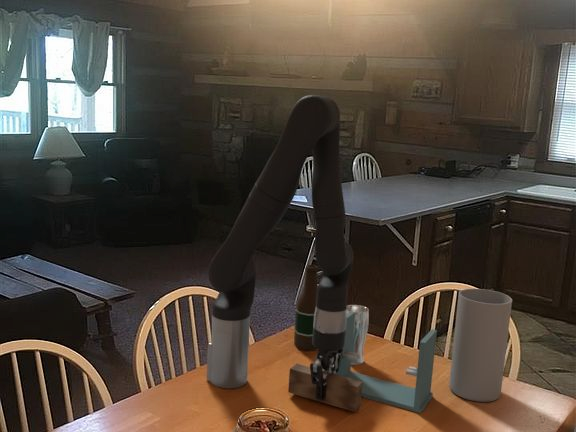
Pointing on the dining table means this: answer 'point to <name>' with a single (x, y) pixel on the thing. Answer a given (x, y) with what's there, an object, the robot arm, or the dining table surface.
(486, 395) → the cylinder vase
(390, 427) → the dining table surface
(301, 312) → the beer bottle
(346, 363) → the shelf stand
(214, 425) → the dining table surface
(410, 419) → the dining table surface
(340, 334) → the robot arm
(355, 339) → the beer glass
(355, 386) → the walnut plank
